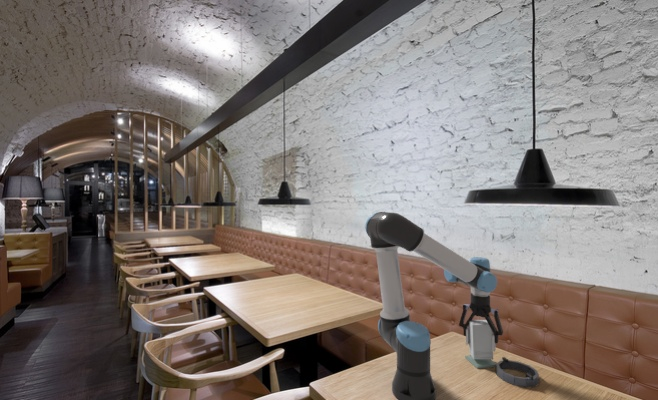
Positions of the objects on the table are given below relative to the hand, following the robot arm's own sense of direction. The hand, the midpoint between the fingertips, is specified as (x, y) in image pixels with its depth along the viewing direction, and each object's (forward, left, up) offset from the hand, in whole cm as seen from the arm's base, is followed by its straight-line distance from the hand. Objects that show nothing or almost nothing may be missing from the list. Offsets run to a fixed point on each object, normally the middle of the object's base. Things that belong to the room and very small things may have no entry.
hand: (480, 346), depth 136 cm
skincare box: (0, 0, -4) cm, 4 cm away
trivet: (0, 0, -7) cm, 7 cm away
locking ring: (+7, -12, -7) cm, 16 cm away
